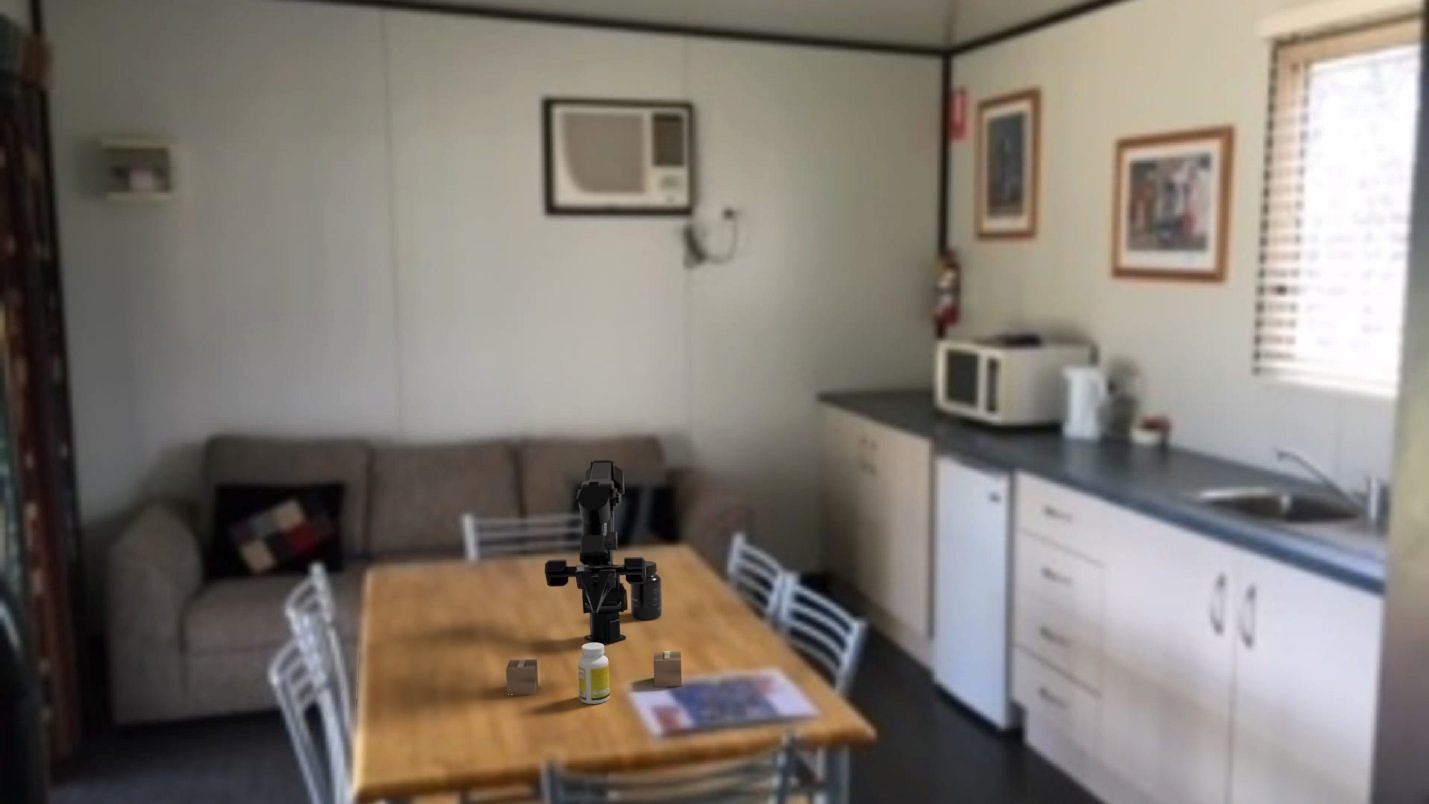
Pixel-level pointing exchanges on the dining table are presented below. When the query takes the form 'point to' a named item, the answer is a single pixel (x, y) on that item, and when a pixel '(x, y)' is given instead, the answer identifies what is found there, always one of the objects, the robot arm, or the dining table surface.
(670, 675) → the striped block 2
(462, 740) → the dining table surface
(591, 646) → the supplement bottle
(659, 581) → the supplement bottle
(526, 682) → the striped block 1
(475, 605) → the dining table surface
